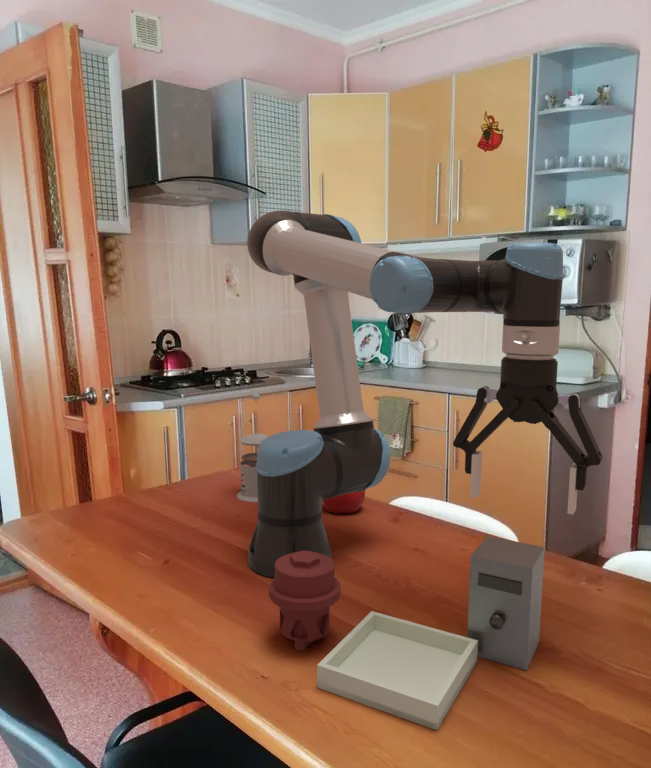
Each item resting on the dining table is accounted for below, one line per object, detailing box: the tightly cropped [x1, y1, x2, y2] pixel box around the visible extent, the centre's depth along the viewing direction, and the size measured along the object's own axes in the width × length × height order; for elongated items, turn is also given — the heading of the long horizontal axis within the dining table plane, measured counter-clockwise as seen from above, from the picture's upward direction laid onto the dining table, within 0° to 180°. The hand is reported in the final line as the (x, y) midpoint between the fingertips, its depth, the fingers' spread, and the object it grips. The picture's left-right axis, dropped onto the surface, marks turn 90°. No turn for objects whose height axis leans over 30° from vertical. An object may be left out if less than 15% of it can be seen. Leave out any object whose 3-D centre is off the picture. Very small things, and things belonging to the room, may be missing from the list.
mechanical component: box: [268, 551, 341, 652], centre depth 89 cm, size 12×10×10 cm
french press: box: [236, 393, 270, 503], centre depth 152 cm, size 10×12×25 cm
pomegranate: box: [322, 490, 366, 514], centre depth 143 cm, size 10×10×9 cm
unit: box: [467, 535, 546, 672], centre depth 86 cm, size 8×9×14 cm
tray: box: [316, 610, 478, 731], centre depth 81 cm, size 16×16×3 cm
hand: (521, 503), depth 91 cm, fingers open, 13 cm apart
